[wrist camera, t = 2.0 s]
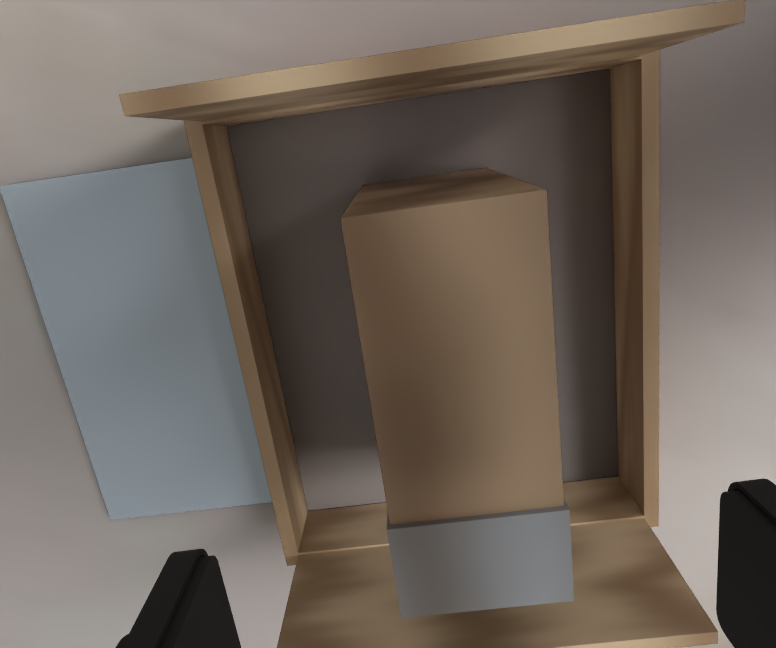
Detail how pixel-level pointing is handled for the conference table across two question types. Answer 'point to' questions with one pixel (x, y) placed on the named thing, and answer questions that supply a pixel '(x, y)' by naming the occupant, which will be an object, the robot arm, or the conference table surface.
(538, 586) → the box
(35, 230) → the mat
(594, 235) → the conference table surface
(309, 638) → the wooden open frame
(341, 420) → the conference table surface
